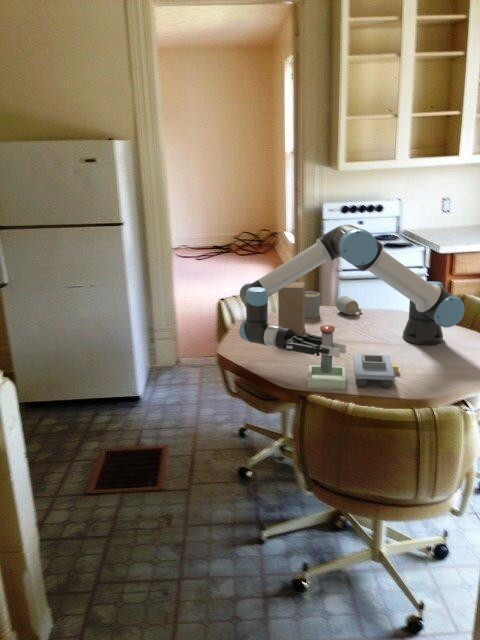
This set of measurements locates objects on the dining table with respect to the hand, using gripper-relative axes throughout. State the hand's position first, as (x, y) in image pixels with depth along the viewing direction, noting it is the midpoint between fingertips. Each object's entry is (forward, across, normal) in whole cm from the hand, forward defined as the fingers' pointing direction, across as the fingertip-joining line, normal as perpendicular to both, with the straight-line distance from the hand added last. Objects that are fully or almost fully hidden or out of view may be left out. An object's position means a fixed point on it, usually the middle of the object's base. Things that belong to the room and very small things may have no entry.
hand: (342, 351), depth 180 cm
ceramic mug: (-34, -75, -12) cm, 83 cm away
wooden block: (-42, -38, -12) cm, 58 cm away
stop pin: (-5, 0, -8) cm, 10 cm away
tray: (-5, 0, -12) cm, 13 cm away
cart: (+7, -11, -12) cm, 18 cm away
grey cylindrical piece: (-48, -64, -12) cm, 80 cm away
